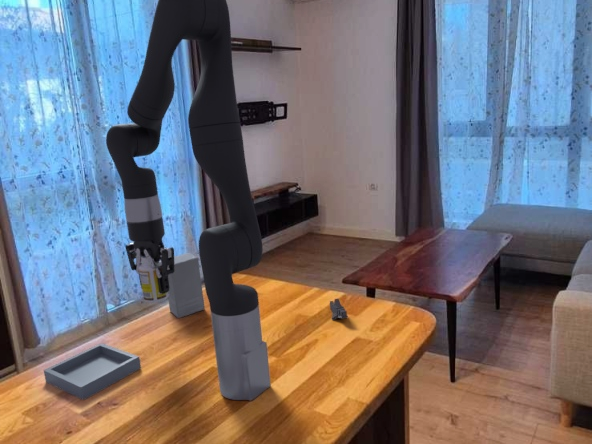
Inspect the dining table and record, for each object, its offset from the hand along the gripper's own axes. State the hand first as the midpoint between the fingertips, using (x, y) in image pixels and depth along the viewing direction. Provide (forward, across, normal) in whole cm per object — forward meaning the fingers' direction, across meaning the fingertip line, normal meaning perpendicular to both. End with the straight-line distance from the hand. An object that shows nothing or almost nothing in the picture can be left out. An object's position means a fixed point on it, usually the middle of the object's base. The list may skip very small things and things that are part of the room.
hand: (155, 290), depth 114 cm
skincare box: (+16, +14, -20) cm, 29 cm away
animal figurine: (+16, -25, -36) cm, 46 cm away
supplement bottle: (+2, 0, 0) cm, 2 cm away
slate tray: (+16, +7, +14) cm, 22 cm away
